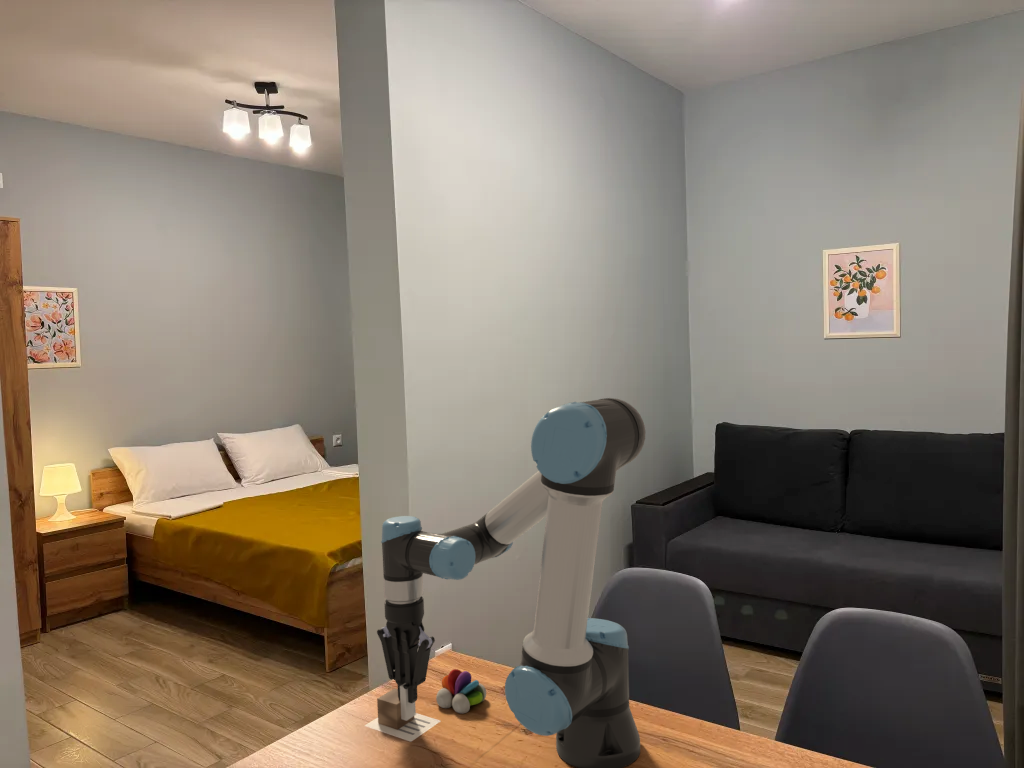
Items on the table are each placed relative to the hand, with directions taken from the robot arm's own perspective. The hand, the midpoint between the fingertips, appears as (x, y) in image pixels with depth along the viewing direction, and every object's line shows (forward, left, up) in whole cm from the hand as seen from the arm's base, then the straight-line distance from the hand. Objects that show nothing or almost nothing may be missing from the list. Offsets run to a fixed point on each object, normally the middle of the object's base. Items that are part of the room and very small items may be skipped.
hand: (408, 716), depth 147 cm
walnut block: (+3, 0, -2) cm, 4 cm away
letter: (+2, 0, -2) cm, 3 cm away
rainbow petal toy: (-4, -12, -2) cm, 13 cm away
